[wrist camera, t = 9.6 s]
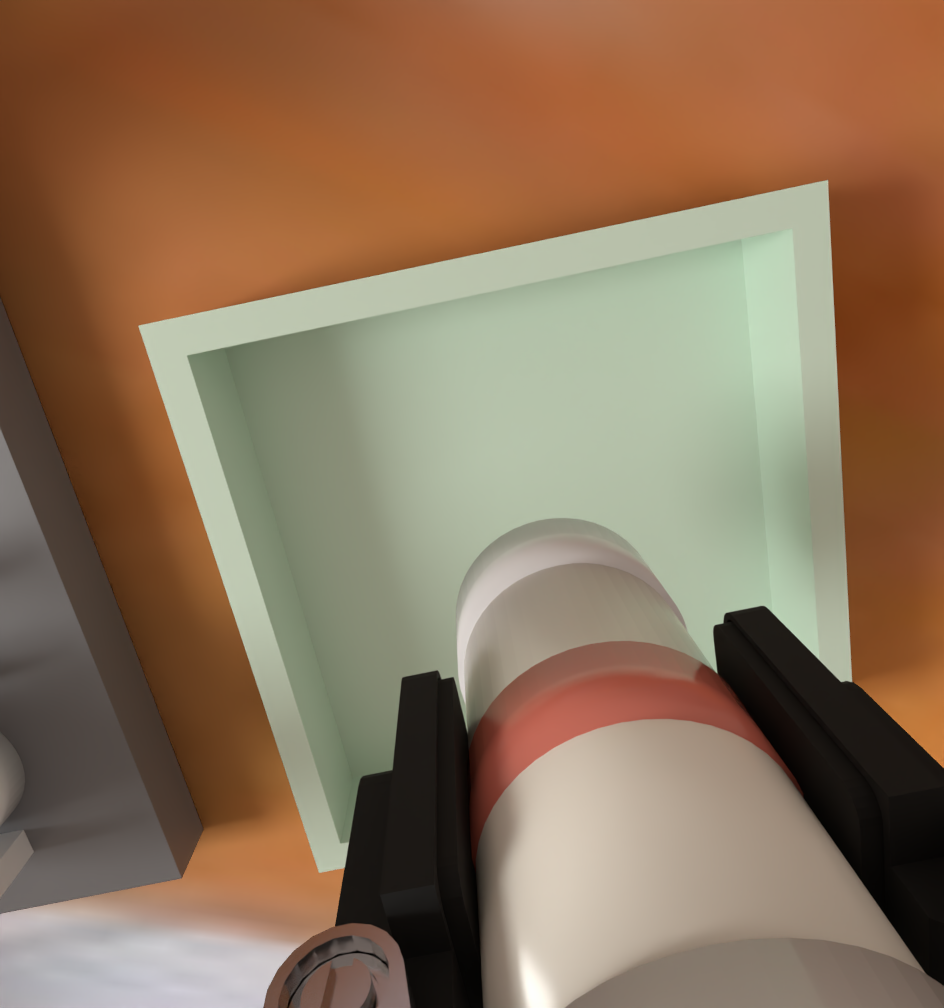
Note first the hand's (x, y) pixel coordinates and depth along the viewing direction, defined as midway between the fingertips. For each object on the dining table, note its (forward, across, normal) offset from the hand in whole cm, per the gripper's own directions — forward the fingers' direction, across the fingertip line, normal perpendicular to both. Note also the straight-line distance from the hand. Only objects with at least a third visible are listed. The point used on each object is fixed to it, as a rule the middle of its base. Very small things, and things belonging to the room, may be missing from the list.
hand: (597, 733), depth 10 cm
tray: (+10, 0, 0) cm, 10 cm away
